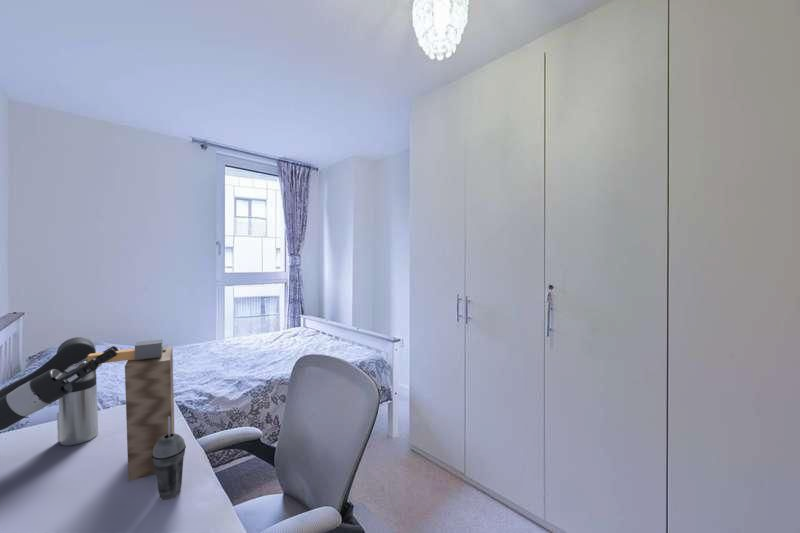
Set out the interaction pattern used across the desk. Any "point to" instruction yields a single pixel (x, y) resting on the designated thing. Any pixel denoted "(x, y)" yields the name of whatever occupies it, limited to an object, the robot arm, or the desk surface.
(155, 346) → the mallet
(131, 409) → the brown wooden tall block
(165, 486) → the beverage cup
